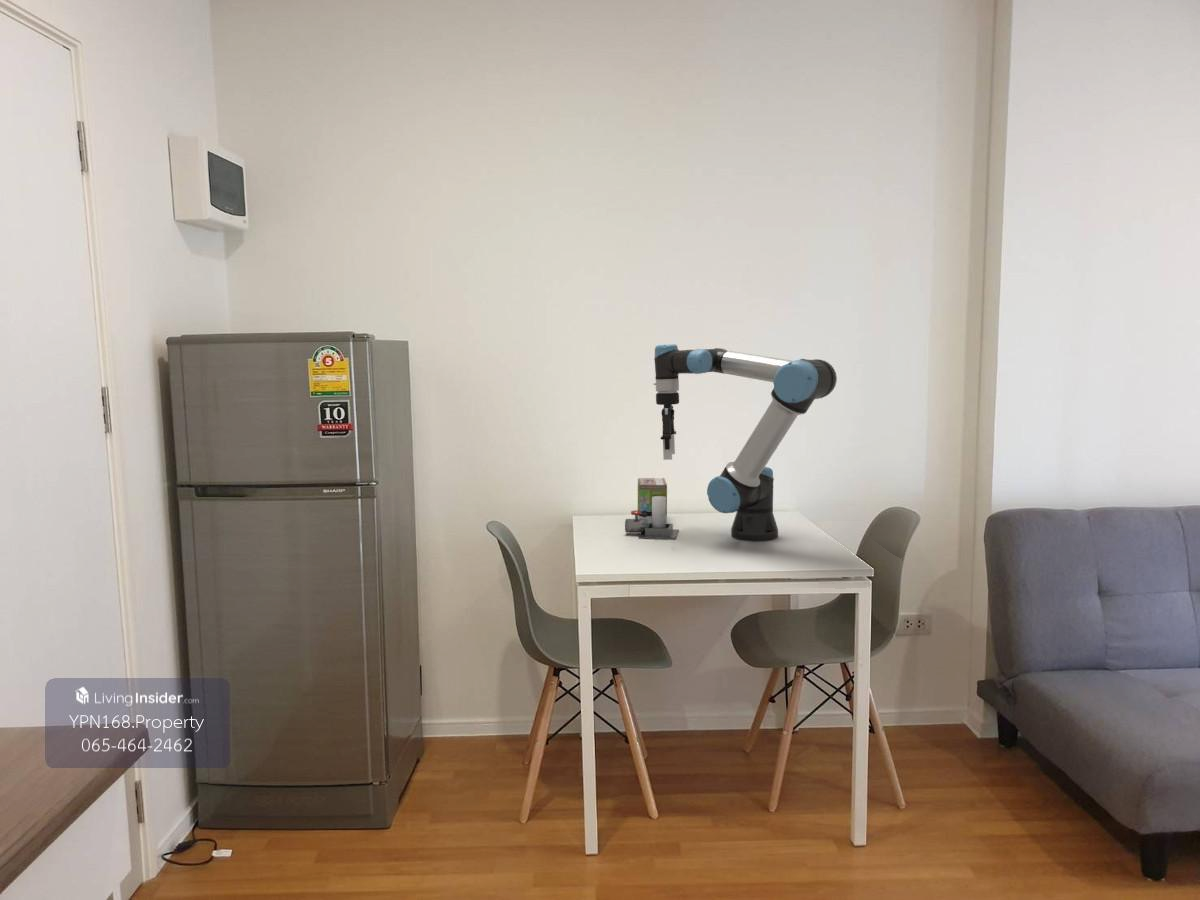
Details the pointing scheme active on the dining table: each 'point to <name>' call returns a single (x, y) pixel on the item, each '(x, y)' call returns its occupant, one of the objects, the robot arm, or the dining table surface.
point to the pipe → (658, 512)
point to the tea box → (650, 495)
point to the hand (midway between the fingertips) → (669, 456)
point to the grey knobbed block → (649, 528)
